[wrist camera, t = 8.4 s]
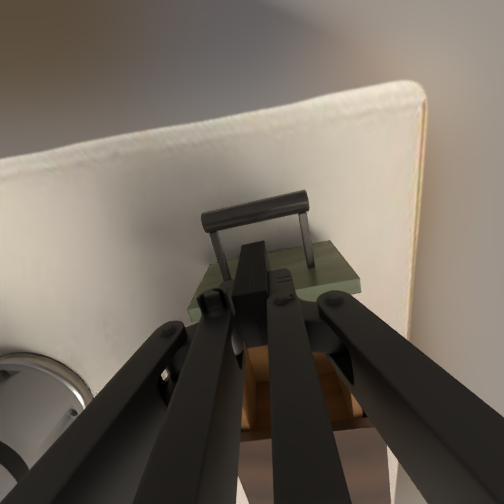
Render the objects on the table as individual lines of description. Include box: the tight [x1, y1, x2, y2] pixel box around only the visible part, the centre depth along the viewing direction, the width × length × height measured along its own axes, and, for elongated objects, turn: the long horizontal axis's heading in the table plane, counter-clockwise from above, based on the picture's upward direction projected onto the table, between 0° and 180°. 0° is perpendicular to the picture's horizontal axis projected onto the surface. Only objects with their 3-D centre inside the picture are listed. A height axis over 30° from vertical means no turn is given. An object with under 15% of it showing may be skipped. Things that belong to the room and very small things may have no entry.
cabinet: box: [238, 409, 391, 504], centre depth 30 cm, size 18×14×10 cm
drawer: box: [187, 190, 363, 432], centre depth 24 cm, size 23×13×8 cm, turn 13°
